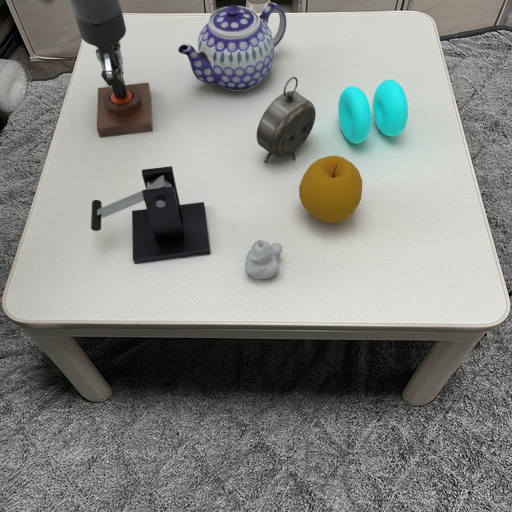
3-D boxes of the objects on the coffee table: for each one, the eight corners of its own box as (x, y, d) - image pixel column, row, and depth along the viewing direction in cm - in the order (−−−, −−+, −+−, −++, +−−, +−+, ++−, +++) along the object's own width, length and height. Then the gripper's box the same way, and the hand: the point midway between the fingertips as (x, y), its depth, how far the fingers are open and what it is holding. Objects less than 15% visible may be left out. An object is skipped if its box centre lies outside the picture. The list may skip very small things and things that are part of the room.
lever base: (134, 264, 81) (115, 212, 70) (133, 215, 86) (115, 160, 76) (210, 254, 82) (202, 201, 71) (204, 206, 87) (196, 150, 77)
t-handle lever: (97, 234, 77) (86, 225, 75) (97, 208, 80) (87, 200, 78) (173, 202, 74) (164, 193, 72) (171, 177, 77) (162, 167, 75)
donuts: (402, 146, 95) (416, 102, 87) (351, 156, 94) (360, 112, 85) (382, 111, 100) (392, 66, 92) (333, 120, 99) (339, 76, 91)
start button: (112, 111, 98) (110, 103, 96) (112, 97, 100) (110, 90, 98) (133, 109, 98) (131, 101, 96) (133, 95, 100) (131, 88, 99)
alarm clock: (296, 132, 97) (301, 56, 84) (317, 146, 95) (326, 70, 82) (255, 161, 93) (253, 86, 80) (276, 177, 91) (278, 102, 77)
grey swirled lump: (236, 268, 80) (234, 238, 73) (268, 246, 82) (269, 214, 76) (259, 291, 78) (259, 262, 71) (291, 268, 80) (294, 237, 73)
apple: (291, 230, 84) (295, 181, 74) (304, 187, 89) (309, 136, 80) (351, 243, 83) (362, 194, 73) (360, 198, 88) (372, 147, 78)
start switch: (99, 137, 97) (93, 120, 94) (100, 96, 104) (95, 79, 101) (152, 131, 98) (148, 114, 95) (150, 91, 105) (146, 74, 101)
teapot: (265, 38, 115) (265, -31, 102) (307, 72, 107) (313, 3, 95) (166, 79, 107) (153, 10, 94) (205, 120, 100) (196, 50, 87)
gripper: (75, -12, 87) (102, 76, 101) (71, 33, 79) (100, 121, 93) (120, -16, 87) (140, 72, 101) (120, 28, 80) (142, 116, 94)
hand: (121, 95), depth 97 cm, fingers closed
